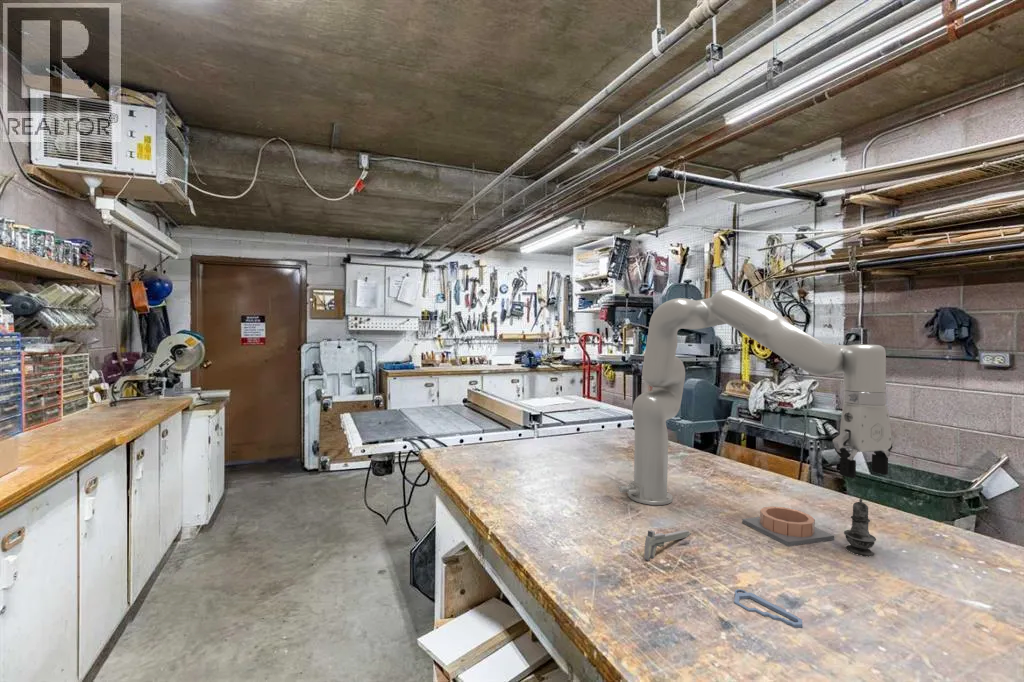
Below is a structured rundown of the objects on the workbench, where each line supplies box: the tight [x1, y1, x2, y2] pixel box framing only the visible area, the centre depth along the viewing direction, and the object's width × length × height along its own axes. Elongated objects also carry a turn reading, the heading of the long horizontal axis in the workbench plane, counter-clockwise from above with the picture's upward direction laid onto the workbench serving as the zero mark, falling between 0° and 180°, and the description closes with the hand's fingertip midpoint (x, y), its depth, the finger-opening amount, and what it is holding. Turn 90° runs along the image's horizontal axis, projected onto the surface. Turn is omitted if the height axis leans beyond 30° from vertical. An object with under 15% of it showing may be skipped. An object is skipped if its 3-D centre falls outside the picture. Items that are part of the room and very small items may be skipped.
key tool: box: [733, 588, 803, 629], centre depth 82 cm, size 12×1×5 cm
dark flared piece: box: [843, 498, 877, 557], centre depth 106 cm, size 6×6×12 cm
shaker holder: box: [741, 505, 835, 547], centre depth 117 cm, size 14×14×4 cm
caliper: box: [643, 529, 692, 562], centre depth 107 cm, size 20×1×6 cm, turn 135°
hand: (864, 474), depth 106 cm, fingers open, 9 cm apart
